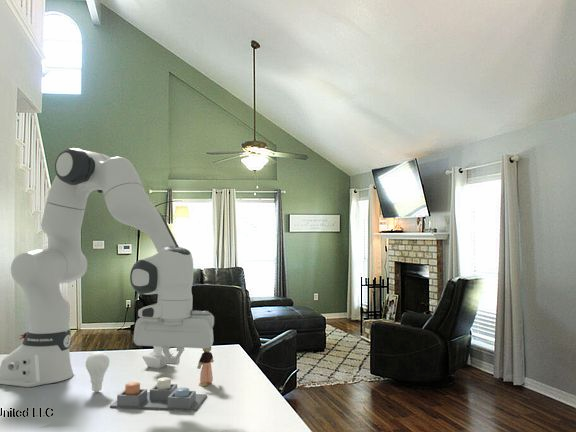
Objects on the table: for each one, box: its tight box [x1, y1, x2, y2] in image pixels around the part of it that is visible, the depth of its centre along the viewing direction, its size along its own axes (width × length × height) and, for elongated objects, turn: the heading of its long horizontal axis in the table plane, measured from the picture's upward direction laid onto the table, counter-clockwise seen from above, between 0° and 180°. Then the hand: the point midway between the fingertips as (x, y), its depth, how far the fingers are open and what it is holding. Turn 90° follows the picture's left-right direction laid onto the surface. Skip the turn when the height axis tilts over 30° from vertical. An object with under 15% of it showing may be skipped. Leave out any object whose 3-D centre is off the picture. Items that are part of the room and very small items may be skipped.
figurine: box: [141, 346, 174, 369], centre depth 157 cm, size 7×9×15 cm
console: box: [109, 383, 208, 412], centre depth 122 cm, size 22×11×3 cm, turn 86°
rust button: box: [124, 381, 141, 395], centre depth 120 cm, size 4×4×3 cm
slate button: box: [175, 386, 190, 397], centre depth 119 cm, size 4×4×3 cm
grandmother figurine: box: [197, 344, 215, 387], centre depth 138 cm, size 8×4×13 cm, turn 168°
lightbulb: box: [85, 351, 110, 393], centre depth 130 cm, size 6×6×11 cm
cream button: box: [156, 376, 172, 390], centre depth 125 cm, size 4×4×3 cm
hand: (172, 364), depth 120 cm, fingers closed
